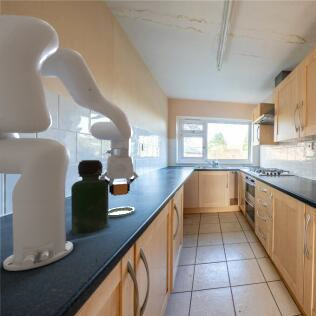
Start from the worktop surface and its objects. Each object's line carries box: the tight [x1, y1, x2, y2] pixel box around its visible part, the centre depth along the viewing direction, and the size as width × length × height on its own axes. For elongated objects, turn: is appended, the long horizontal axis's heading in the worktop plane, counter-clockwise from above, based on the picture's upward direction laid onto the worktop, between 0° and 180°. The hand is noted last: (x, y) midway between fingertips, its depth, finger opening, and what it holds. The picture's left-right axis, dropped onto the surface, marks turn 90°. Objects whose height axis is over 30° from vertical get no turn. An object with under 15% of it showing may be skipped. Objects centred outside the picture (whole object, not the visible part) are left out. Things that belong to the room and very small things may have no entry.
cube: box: [112, 181, 128, 197], centre depth 82 cm, size 5×5×5 cm
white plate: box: [108, 206, 135, 218], centre depth 83 cm, size 11×11×2 cm
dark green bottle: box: [70, 159, 109, 235], centre depth 66 cm, size 10×10×25 cm
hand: (119, 193), depth 82 cm, fingers closed on cube, 5 cm apart
